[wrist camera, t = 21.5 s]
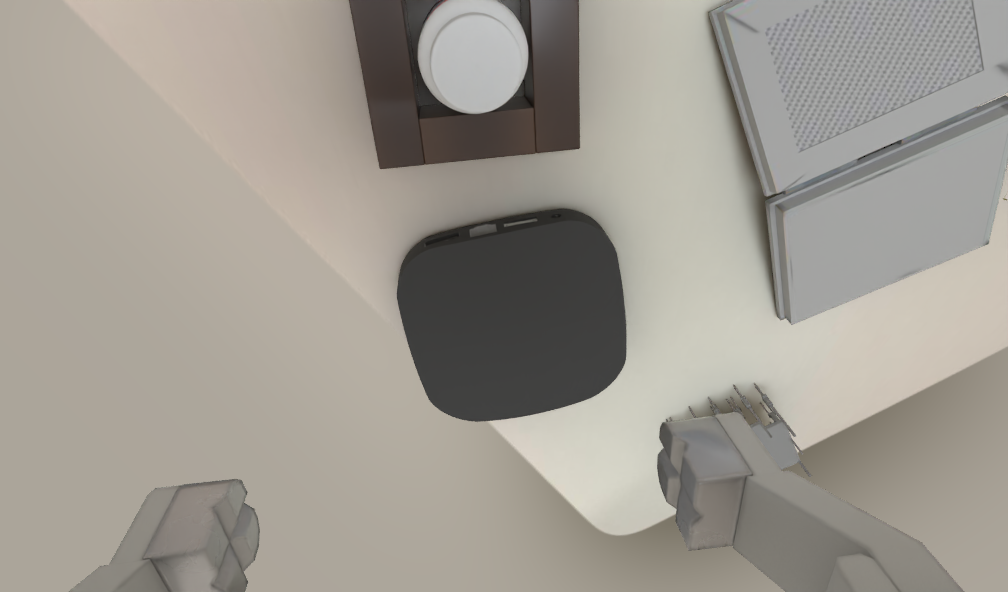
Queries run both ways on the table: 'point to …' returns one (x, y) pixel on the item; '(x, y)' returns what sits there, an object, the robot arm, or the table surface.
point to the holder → (461, 136)
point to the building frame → (770, 433)
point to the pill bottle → (472, 54)
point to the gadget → (869, 135)
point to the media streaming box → (514, 315)
